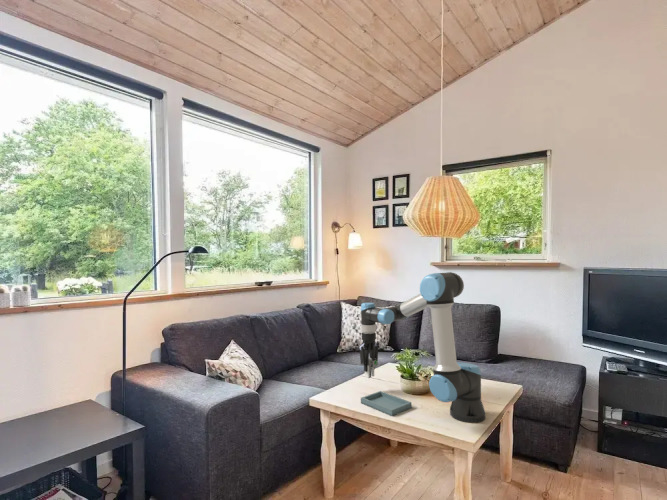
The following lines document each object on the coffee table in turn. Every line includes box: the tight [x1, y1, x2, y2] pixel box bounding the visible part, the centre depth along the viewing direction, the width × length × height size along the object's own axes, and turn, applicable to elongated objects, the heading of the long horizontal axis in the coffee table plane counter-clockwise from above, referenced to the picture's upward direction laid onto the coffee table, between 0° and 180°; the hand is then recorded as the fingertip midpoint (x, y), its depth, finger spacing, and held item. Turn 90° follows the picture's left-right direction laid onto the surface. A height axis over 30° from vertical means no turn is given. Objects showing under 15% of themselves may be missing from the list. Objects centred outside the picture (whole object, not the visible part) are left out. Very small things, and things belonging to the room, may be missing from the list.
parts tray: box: [360, 390, 413, 417], centre depth 185 cm, size 20×14×3 cm
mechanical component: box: [368, 357, 378, 379], centre depth 203 cm, size 3×10×10 cm, turn 42°
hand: (369, 376), depth 203 cm, fingers closed on mechanical component, 3 cm apart
